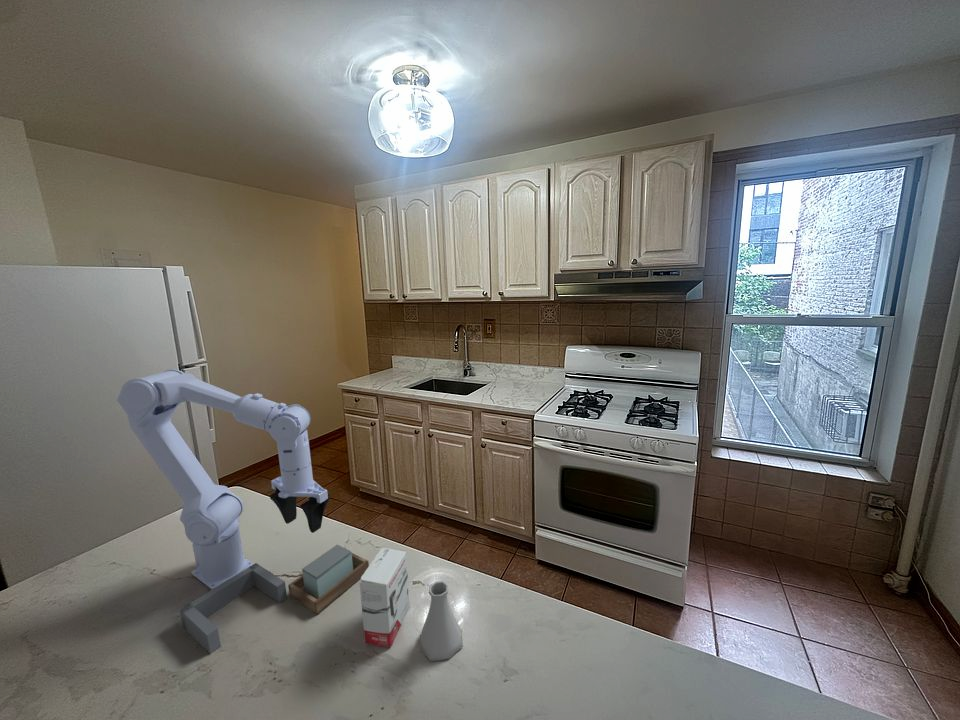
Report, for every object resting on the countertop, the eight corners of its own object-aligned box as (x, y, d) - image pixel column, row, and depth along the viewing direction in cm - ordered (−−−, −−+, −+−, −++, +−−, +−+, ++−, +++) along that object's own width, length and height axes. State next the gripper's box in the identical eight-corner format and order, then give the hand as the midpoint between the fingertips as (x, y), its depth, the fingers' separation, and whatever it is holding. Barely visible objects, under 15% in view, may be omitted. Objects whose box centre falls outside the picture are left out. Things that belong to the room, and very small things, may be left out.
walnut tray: (289, 596, 71) (288, 585, 70) (342, 557, 81) (341, 547, 81) (317, 615, 66) (316, 603, 66) (369, 571, 77) (368, 560, 76)
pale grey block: (305, 591, 71) (302, 568, 70) (339, 565, 78) (337, 544, 77) (319, 600, 69) (316, 577, 68) (353, 573, 76) (351, 551, 75)
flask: (414, 631, 63) (411, 580, 61) (454, 615, 65) (452, 566, 64) (426, 670, 56) (422, 613, 54) (470, 650, 59) (467, 596, 57)
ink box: (391, 649, 60) (385, 585, 58) (363, 644, 61) (357, 581, 58) (411, 605, 68) (407, 548, 66) (387, 602, 69) (382, 545, 67)
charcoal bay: (183, 626, 65) (179, 609, 64) (258, 577, 76) (256, 562, 75) (210, 653, 60) (207, 635, 59) (287, 597, 71) (284, 581, 70)
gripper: (254, 467, 75) (263, 527, 77) (303, 481, 69) (311, 546, 71) (285, 453, 81) (292, 509, 83) (333, 465, 75) (339, 525, 77)
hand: (303, 525), depth 78 cm, fingers open, 7 cm apart
